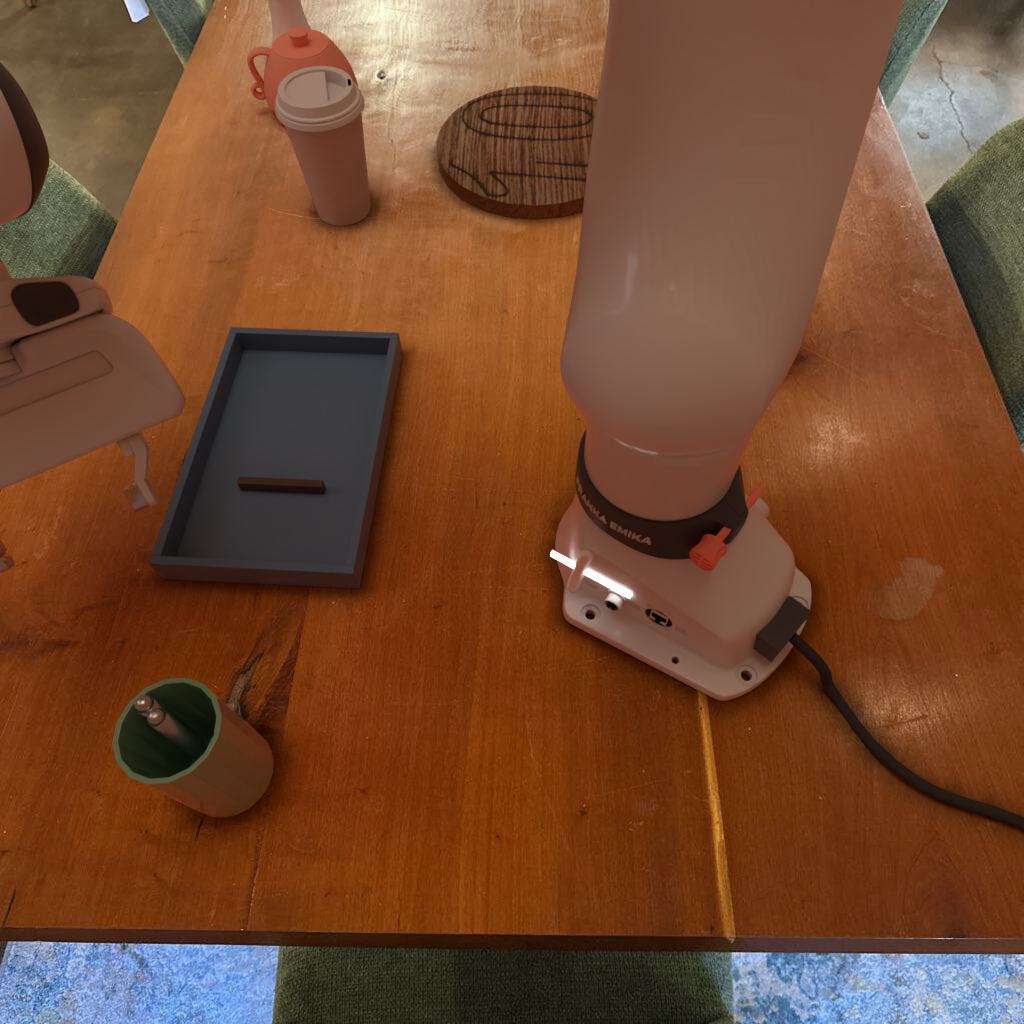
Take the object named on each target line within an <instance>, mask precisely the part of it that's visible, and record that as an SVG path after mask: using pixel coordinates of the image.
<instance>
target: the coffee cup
mask: <svg viewBox="0 0 1024 1024" xmlns="http://www.w3.org/2000/svg"><path fill="white" fill-rule="evenodd" d="M364 108H365V98H364V95H363V93H362V90H361V89H360V88H359V85H358V86H357V85H356V84H355V83H354V82H353V80H352V78H351V77H350V75H349V74H348V73H346V72H345V71H343V70H341V69H338V68H335V67H330V66H312V67H307V68H303V69H300V70H297V71H295V72H293V73H291V74H289V75H288V76H286V77H285V78H284V79H283V80H282V81H281V82H280V84H279V87H278V94H277V97H276V102H275V113H274V114H275V116H276V118H277V120H278V121H279V122H280V123H281V124H283V125H284V128H285V130H286V133H287V136H288V138H289V141H290V143H291V145H292V149H293V152H294V155H295V157H296V159H297V162H298V164H299V167H300V170H301V172H302V175H303V178H304V181H305V183H306V186H307V188H308V191H309V194H310V196H311V199H312V202H313V205H314V207H315V210H316V213H317V215H318V217H319V218H320V220H321V221H323V222H324V223H326V224H329V225H332V226H335V227H337V226H338V227H343V226H344V227H345V226H350V225H353V224H356V223H359V222H362V221H363V220H364V219H365V218H366V217H367V216H368V215H369V213H370V212H371V209H372V205H371V204H372V203H371V194H370V184H369V183H370V182H369V176H368V174H369V173H368V166H367V164H368V163H367V156H366V155H367V154H366V146H365V136H364V126H363V115H362V112H363V110H364Z"/></svg>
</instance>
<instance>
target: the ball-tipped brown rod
mask: <svg viewBox="0 0 1024 1024" xmlns="http://www.w3.org/2000/svg"><path fill="white" fill-rule="evenodd" d="M147 723H148V724H149V725H150V726H151V727H152V728H154V729H155V730H156V731H158V732H159V733H160V734H162V735H163V736H164V737H166V738H167V739H168V740H170V741H171V742H172V743H174V744H175V745H176V746H178V747H179V748H180V749H182V750H183V751H184V752H186V753H187V754H188V755H190V756H191V757H192V758H194V759H195V760H196V761H197V760H198V759H199V758H200V757H201V756H202V755H203V754H204V753H205V751H206V749H207V747H208V745H207V744H206V743H204V742H203V741H202V740H201V739H199V738H198V737H197V736H196V735H194V734H193V733H192V732H191V731H189V730H188V729H187V728H186V727H184V726H183V725H182V724H181V723H179V722H178V721H177V720H176V719H174V718H173V717H172V716H171V715H169V714H168V713H167V712H166V711H165V710H163V709H161V708H155V709H153V710H151V711H150V712H149V713H148V715H147Z"/></svg>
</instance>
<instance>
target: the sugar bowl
mask: <svg viewBox="0 0 1024 1024" xmlns="http://www.w3.org/2000/svg"><path fill="white" fill-rule="evenodd" d="M271 45H272V47H271V46H270V47H271V49H270V47H267V46H262V45H261V46H260V45H259V46H256V47H254V48H252V49H251V50H250V51H249V52H248V55H247V59H246V60H247V61H246V62H247V67H248V70H249V72H250V73H251V75H252V77H253V79H254V81H255V82H254V83H253V84H252V85H251V88H250V90H251V91H250V92H251V95H252V96H253V98H254V99H256V100H258V101H266V104H267V106H268V108H270V110H271V111H272V112H273V113H274V114H276V113H275V102H276V97H277V94H278V87H279V84H280V82H281V81H282V80H283V79H284V78H285V77H286V76H288V75H289V74H291V73H293V72H295V71H297V70H300V69H303V68H307V67H312V66H330V67H335V68H338V69H341V70H343V71H345V72H346V73H348V74H349V75H350V77H351V78H352V80H353V82H354V83H355V84H356V85H357V86H358V87H359V85H358V80H357V76H356V74H355V72H354V69H353V67H352V66H351V63H350V61H349V60H348V59H347V57H346V56H345V54H344V52H342V50H341V49H340V48H339V47H338V46H337V44H335V42H334V41H333V40H332V39H331V38H330V37H329V36H328V35H326V34H325V33H324V32H322V31H319V30H316V29H312V28H311V29H306V28H304V27H294V28H292V29H290V30H289V31H288V32H287V33H284V34H282V35H281V36H279V37H278V38H277V39H276V40H275V41H274V42H273V44H272V43H271ZM258 56H264V57H265V56H266V57H267V59H266V62H265V67H264V71H263V72H264V74H263V78H262V76H261V74H260V73H259V71H258V69H257V67H256V64H255V61H254V59H255V58H256V57H258ZM257 89H260V91H258V90H257Z"/></svg>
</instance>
